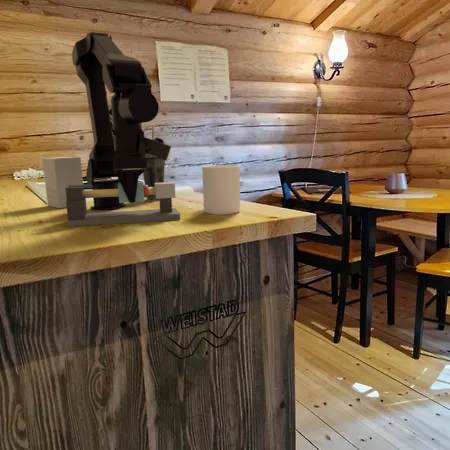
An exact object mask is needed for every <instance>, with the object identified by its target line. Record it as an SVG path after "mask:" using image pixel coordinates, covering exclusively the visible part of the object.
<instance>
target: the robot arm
mask: <svg viewBox="0 0 450 450" xmlns="http://www.w3.org/2000/svg"><path fill="white" fill-rule="evenodd" d="M71 59H72V64H73V66H74V67H75V70H76V75H77V77H78V78H79V79H80V80H81V82H82V83H83V84H84V85H85V89H86V98H87V104H88V105H87V106H88V110H89V111H88V112H89V117H90V124H91V131H92V132H91V133H92V136H93V137H92V138H93V146H92V148H91V150H90V152H89V155H88V157H89V159H88V161H87V167H86V174H85V177H86V182H87V184H88V185H91V186H92V190H102V189H118V183H121V185H122V188H123V190H124V192H125V194H126V196H127V198H128V200H129V202H128V203H130V204H135V203H136V202H135V199H136V191H137V184H138V182H139V179H140V176H142V175H143V172H144V171H145V170H146V169H145V168H147V158H146V157H145V153H148V154H151V155H154V156H157V157H159V158H160V159H163V160H165V162H166V161H168V158H169V154H170V152H171V148H172V146H171V145H169V144H165V143H164V139H163V138H159V137H157V136H156V137H154V140H152V138H148V137H145V130H143V125H142V124H144V123H148V122H149V123H150V122H152V121H153V120H154V119H155V118H156V117H157V115H158V113H159V108H160V107H159V106H160V105H159V102H158V101H157V100H158V99H157V98H156V96H155V95H154V94H153V93H152V86H153V85H152V83H151V80H150V79H149V77H148V75H147V74H146V70H145V67H144V66H143V65H142V63H141V62H140V61H139V60H138V59H137V58H135V57H132V56H129V55H125V54H124V53H123V52H122V51H121V50H120V48H119V47H118V46H117V45H116V43H115V42H114V41H113V38H112V36H111V34H108V33H106V32H100V31H99V32H97V31H90V32H87V33H86V35H85V37H83V38H82V39H80V40H78V41H76V42H75V43H74V45H73V48H72V52H71ZM106 89H107V90H108V91H109V93H110V94H111V93H112V94H113V93H114V94H113V95H112V96H111V98H110V104H111V116H112V117H111V116H110V109H109V103H108V95H107V90H106ZM111 118H112V123H111ZM92 199H93V206H90V210H115V209H118V208H122V207H126V205H127V203H119V196H117V197H98V198H92Z"/></svg>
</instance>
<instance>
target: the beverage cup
mask: <svg viewBox="0 0 450 450" xmlns="http://www.w3.org/2000/svg"><path fill="white" fill-rule="evenodd" d="M154 127H155V126H152V127H151V139H152V140H154V139H155V130H154V129H155V128H154ZM145 157H146V158H147V168H145V169H146V170H145V171H144V172H143V173H142V176H143V184H144V185H148V187H155V183H164V182H165V165H166V160H163V159H160V158H159V157H157V156H154V155H151V154H148V153H145ZM146 200H147V201H159V199H156V197H155V194H154V195H149V197H146Z"/></svg>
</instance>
